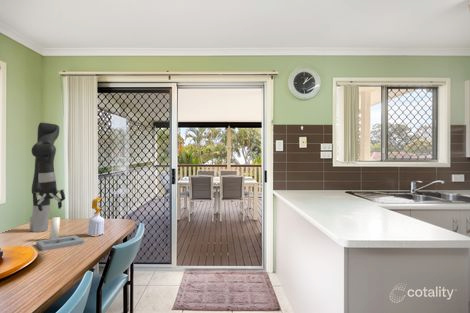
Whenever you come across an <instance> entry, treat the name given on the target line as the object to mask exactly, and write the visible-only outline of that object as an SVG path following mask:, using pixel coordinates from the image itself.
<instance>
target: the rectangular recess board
mask: <svg viewBox="0 0 470 313" xmlns="http://www.w3.org/2000/svg"><path fill="white" fill-rule="evenodd" d="M82 243H84V244H85V240H84V239H82V238H81V237H79V236H78V235H71V236H63V237H62V236H61V237H59V238H55V239H50V238H49V239H40V240H37V241H36V242H35V245H36V246H37V247H38V248H39V249H40V250H41V251H42V252H43V251H50V250H55V249H56V250H57V249H60V248H67V247H73V245H74V246H79V245H78V244H80V245H83V244H82Z"/></svg>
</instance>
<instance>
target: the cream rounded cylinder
mask: <svg viewBox="0 0 470 313" xmlns="http://www.w3.org/2000/svg"><path fill="white" fill-rule="evenodd" d="M60 224H61V217H59V216H57V217H56V216H55V217H53V216H52V217H51V221H50V233H49V239H55V238H60Z"/></svg>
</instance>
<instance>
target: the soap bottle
mask: <svg viewBox="0 0 470 313" xmlns="http://www.w3.org/2000/svg"><path fill="white" fill-rule="evenodd" d="M102 199H103V197H96V198H94V199H92V201H91V209H92V210H95V212H93V214H94V216H91V217H90V218H89V220H88V226H87V227H88V228H87V236H88V235H99V234H102V233H103V234H104V229H105V228H104V227H105V219H104V217H102V216H101V212H100V210H101V209H103V207H98V205H99V204H98V203H99V201H101V200H102Z"/></svg>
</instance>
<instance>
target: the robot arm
mask: <svg viewBox="0 0 470 313" xmlns="http://www.w3.org/2000/svg"><path fill="white" fill-rule="evenodd" d="M59 135H60V126H59V125H58V124H56V123H55V124H54V123H51V122H50V123H48V122H43V121H42V122H40V123H39V124H38V126H37V141H36V143H34V144H33V145H32V148H31V154H32V156H33V157H35V159H34V174H33V179H32V184H31V194H32V213H31V214H32V215H31V216H30V218H29V219H30V220H29V230H28V232H31V233H38V232H46V231H48V230H49V222H50V221H49V219H50V209H51V208H50V207H51V200H52V199H53V200H56V202H57V207H58V208H57V209H61V208H62V207H63V204H62V203H63V201H65V200H66V195H65V194H66V193H65V190H64V189H63V188H61V189H59V190H58V188H57V179H56V173H55V165H54V163H55V157H56V152H57V147H56V146H55V142H56V140H57V139H58V137H59ZM58 194H59V195H60V197H61V198H60V197H59V196H58ZM38 196H40V197H41V198H39V199H38Z"/></svg>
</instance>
